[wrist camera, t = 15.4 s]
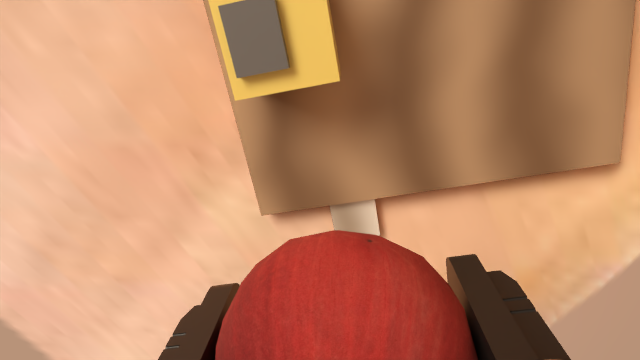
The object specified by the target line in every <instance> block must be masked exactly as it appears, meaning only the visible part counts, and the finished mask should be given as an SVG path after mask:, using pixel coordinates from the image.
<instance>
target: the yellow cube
mask: <svg viewBox="0 0 640 360" xmlns="http://www.w3.org/2000/svg"><path fill="white" fill-rule="evenodd" d="M208 1H209V5H210V9H211V13H212V16H213V20H214V24H215V28H216V31H217V35H218V39H219V43H220V46H221V50H222V54H223V58H224V61H225V65H226V69H227V73H228V76H229V80H230V84H231V88H232V91H233V95H234V99H235V101H237V100H242V99H247V98H253V97H258V96H263V95H269V94H274V93H279V92H284V91H290V90H295V89H300V88H306V87H311V86H316V85H322V84H327V83H332V82H337V81H340V75H341V70H340V64H339V58H338V52H337V46H336V40H335V34H334V28H333V22H332V16H331V10H330V4H329V0H208Z"/></svg>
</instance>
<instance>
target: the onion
mask: <svg viewBox="0 0 640 360" xmlns="http://www.w3.org/2000/svg"><path fill="white" fill-rule="evenodd" d="M215 360H478V357H477V353H476V350H475V346H474V342H473V339H472V335H471V331H470V328H469V324H468V320H467V317H466V313H465V309H464V307H463V306H462V304H461V303H460V301H459V299H458V298H457V296H456V295H455V293H454V292H453V290H452V288H451V287H450V285H449V284H448V283H447V282H446V281H445V280H444V279H443V278H442V277H441V276H440V275H439V274H438V272H437V271H436V270H435V269H434V268H433V267H432V266H431V265H430V264H429V263H428V262H427V261H426V260H425V258H424V257H422V256H420V255H418V254H416V253H414V252H412V251H410V250H408V249H406V248H404V247H402V246H399V245H397V244H395V243H393V242H391V241H389V240H387V239H385V238H383V237H380V236H378V235H374V234H366V233H358V232H349V231H341V230H334V231H329V232H324V233H319V234H314V235H309V236H304V237H300V238H295V239H290V240H289V241H287V242H286V243H284V244H283V245H282V246H280V247H279V248H278V249H276V250H275V251H274V252H272V253H271V254H270V255H268V256H267V257H265V258H264V259H263V260H261V261H260V262H259V263H257V264H256V265H255V267H254V268H253V269H252V270H251V272H250V273H249V274H248V275H247V277H246V278H245V279H244V280H243V282H242V283H241V285H240V287H239V289H238V291H237V293H236V295H235V297H234V299H233V301H232V303H231V305H230V307H229V309H228V311H227V313H226V315H225V317H224V319H223V322H222V326H221V329H220V333H219V337H218V341H217V345H216V355H215Z"/></svg>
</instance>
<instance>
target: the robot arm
mask: <svg viewBox="0 0 640 360" xmlns="http://www.w3.org/2000/svg"><path fill="white" fill-rule="evenodd" d="M446 267H447V280H448V284H449V285H450V287H451V288H452V290H453V292H454V293H455V295H456V296H457V298H458V299H459V301H460V303H461V304H462V306H463V307H464V309H465V313H466V317H467V320H468V324H469V328H470V331H471V335H472V339H473V342H474V346H475V350H476V353H477V357H478V360H571V359H570V358H569V356H568V355H567V353H566V352H565V351H564V349H563V348H562V346H561V345H560V343H559V342H558V341H557V339H556V338H555V336H554V335H553V334H552V332H551V331H550V329H549V327H548V326H547V325H546V323H545V322H544V320H543V319H542V317H541V316H540V314H539V313H538V312H536V310H535V307H534V306H533V304H532V303H531V302H530V300H529V299H527V296H526V294H525V293H524V291H523V290H522V289H521V287H520V286H519V284H518V283H517V282H516V281H515V280H513V279H512V278H510V277H509V276H508V275H506V274H505V273H503V272H502V271H491V272H486V271H485V269H484V267H483V266H482V264H481V262H480V261H479V259H478V257H477V256H476V255H475V254H472V255H463V256H455V257H447V259H446ZM239 287H240V285H239V284H238V283H233V284H225V285H217V286H212V287H211V288H210V289H209V291H208V292H207V294H206V296H205V298H204V300H203V302H202V304H201V305H198V306H194V307H193V308H192V309H191V310H190V311H189V312H188V313H187V314H186V315H185V316H184V317H183V318H182V319H181V320H180V322H179V324H178V325H177V327H176V329H175V331H174V332H173V337H171V338H170V339H169V341H168V343H167V345H166V349H165V350H163V352H162V353H161V355H160V357H159V359H158V360H215V355H216V345H217V341H218V337H219V333H220V329H221V326H222V322H223V319H224V317H225V315H226V313H227V311H228V309H229V307H230V305H231V303H232V301H233V299H234V297H235V295H236V293H237V291H238V289H239Z"/></svg>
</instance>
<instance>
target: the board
mask: <svg viewBox="0 0 640 360" xmlns="http://www.w3.org/2000/svg"><path fill="white" fill-rule="evenodd" d="M203 1H204V5H205V9H206V12H207V16H208V20H209V23H210V27H211V31H212V34H213V38H214V42H215V46H216V49H217V53H218V57H219V60H220V64H221V68H222V71H223V75H224V79H225V83H226V86H227V90H228V94H229V97H230V101H231V105H232V108H233V112H234V116H235V119H236V123H237V127H238V131H239V134H240V138H241V142H242V145H243V149H244V153H245V156H246V160H247V164H248V168H249V171H250V175H251V179H252V182H253V186H254V190H255V193H256V197H257V201H258V204H259V208H260V212H261V216H263V215H269V214H276V213H283V212H290V211H297V210H303V209H310V208H317V207H324V206H330V210H331V215H332V220H333V226H334V230H341V231H349V232H358V233H366V234H374V235H380V231H379V224H378V218H377V211H376V204H375V199H378V198H385V197H392V196H398V195H405V194H412V193H419V192H425V191H432V190H439V189H446V188H453V187H459V186H466V185H473V184H480V183H486V182H493V181H500V180H507V179H514V178H520V177H527V176H534V175H541V174H548V173H554V172H561V171H568V170H575V169H581V168H588V167H595V166H602V165H609V164H615V163H620V159H621V149H622V138H623V127H624V117H625V106H626V96H627V85H628V75H629V64H630V53H631V43H632V32H633V22H634V11H635V1H636V0H329V4H330V10H331V16H332V22H333V28H334V34H335V40H336V46H337V52H338V58H339V64H340V70H341V75H340V81H337V82H332V83H327V84H322V85H316V86H311V87H306V88H300V89H295V90H290V91H284V92H279V93H274V94H269V95H263V96H258V97H253V98H247V99H242V100H237V101H235V99H234V95H233V91H232V88H231V84H230V80H229V76H228V73H227V69H226V65H225V61H224V58H223V54H222V50H221V46H220V43H219V39H218V35H217V31H216V28H215V24H214V20H213V16H212V13H211V9H210V5H209V1H208V0H203Z"/></svg>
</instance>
